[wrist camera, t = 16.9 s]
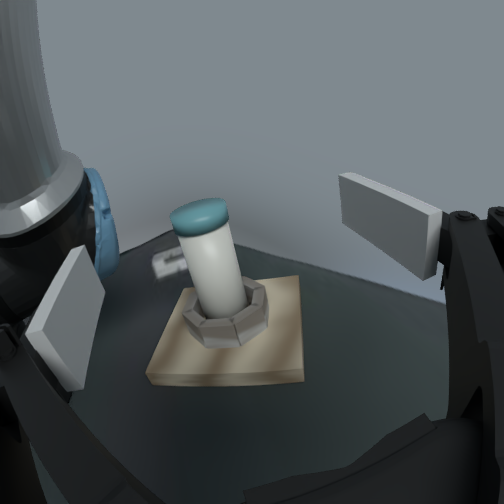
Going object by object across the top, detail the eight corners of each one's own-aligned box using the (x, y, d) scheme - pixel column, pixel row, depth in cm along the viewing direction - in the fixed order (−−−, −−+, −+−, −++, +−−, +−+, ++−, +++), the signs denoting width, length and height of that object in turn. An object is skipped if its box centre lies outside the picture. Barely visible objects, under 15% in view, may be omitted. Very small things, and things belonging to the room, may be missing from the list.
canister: (202, 338, 33) (161, 224, 27) (211, 308, 38) (179, 203, 32) (250, 335, 32) (219, 214, 26) (255, 304, 37) (229, 194, 31)
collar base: (152, 384, 30) (133, 353, 28) (188, 299, 44) (177, 270, 42) (304, 381, 27) (299, 345, 25) (300, 287, 41) (295, 255, 39)
